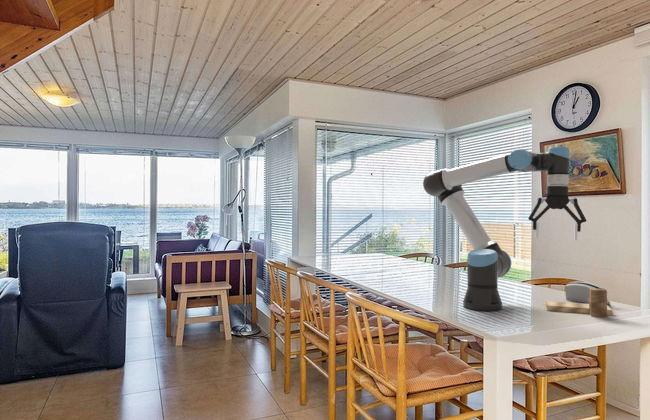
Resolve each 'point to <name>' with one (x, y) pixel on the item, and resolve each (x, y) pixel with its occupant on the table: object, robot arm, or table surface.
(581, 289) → the grey curved slab
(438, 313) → the table surface
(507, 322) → the table surface
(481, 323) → the table surface
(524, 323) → the table surface
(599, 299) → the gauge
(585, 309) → the board
